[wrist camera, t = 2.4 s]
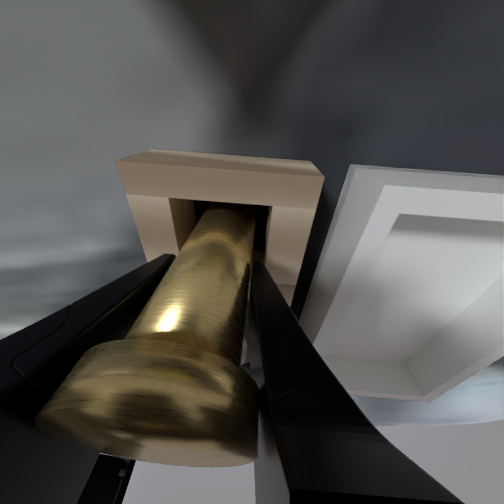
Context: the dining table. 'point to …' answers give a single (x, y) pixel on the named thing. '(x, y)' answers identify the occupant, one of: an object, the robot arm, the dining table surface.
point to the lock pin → (174, 363)
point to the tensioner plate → (224, 190)
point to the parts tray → (410, 282)
